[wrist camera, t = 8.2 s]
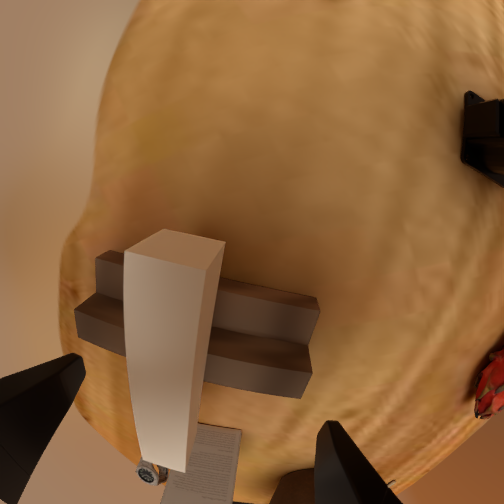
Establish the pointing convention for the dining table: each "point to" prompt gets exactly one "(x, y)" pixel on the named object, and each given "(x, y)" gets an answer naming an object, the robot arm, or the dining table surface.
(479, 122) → the robot arm
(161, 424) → the light gray bar
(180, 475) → the skincare box
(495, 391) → the dragon fruit
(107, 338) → the ridge block
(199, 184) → the dining table surface
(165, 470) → the wristwatch
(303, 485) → the plant pot
